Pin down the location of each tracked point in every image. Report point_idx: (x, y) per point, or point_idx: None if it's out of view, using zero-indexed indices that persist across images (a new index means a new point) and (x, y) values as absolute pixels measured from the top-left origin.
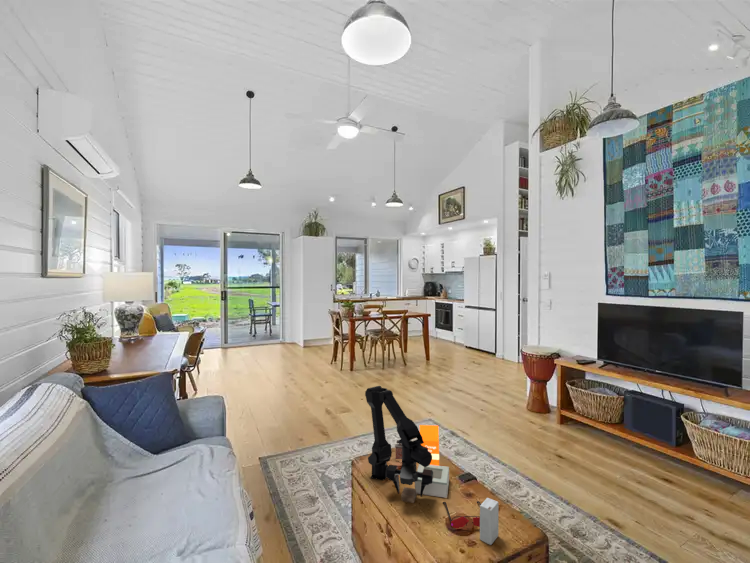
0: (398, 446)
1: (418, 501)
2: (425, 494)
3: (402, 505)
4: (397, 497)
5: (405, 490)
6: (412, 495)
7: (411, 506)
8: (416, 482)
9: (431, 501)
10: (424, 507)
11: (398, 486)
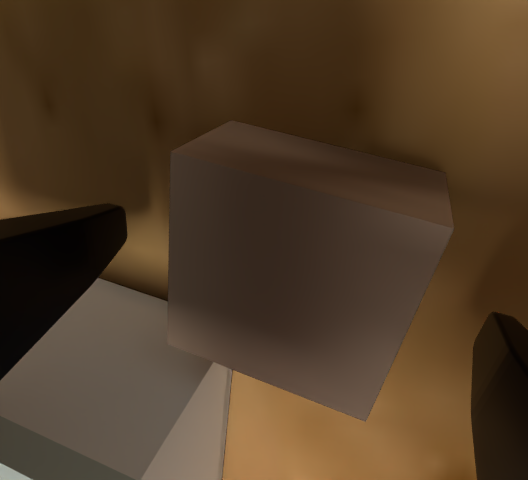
0: None
1: None
2: (117, 287)
3: (446, 17)
4: (512, 268)
5: (345, 335)
6: (198, 170)
7: (264, 7)
8: (126, 443)
9: (34, 164)
10: (71, 10)
11: (516, 445)
